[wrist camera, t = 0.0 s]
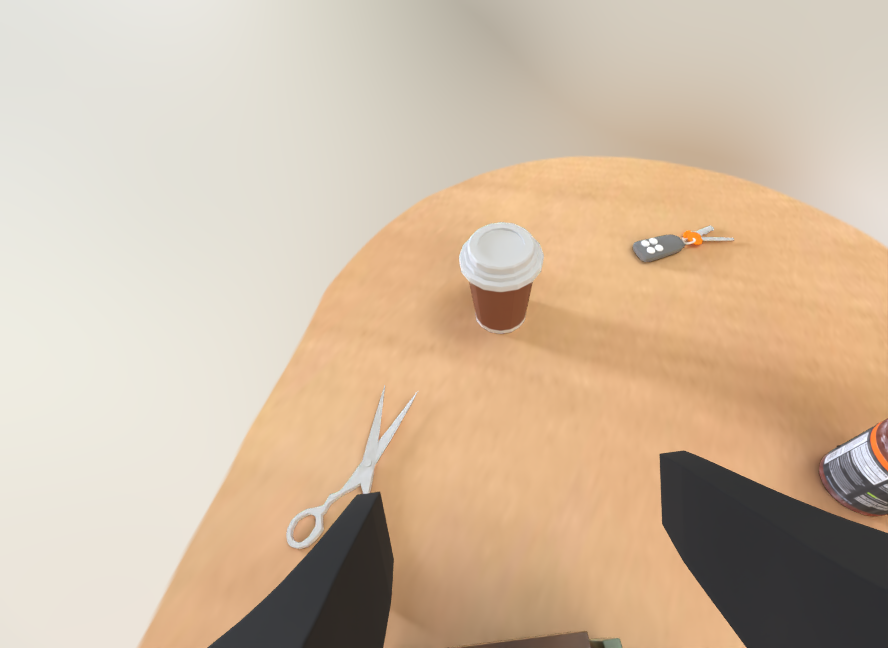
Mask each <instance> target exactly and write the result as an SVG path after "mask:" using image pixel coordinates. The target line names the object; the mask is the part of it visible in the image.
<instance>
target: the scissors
mask: <svg viewBox="0 0 888 648" xmlns="http://www.w3.org/2000/svg"><path fill="white" fill-rule="evenodd" d="M384 389H385V386H384ZM384 389H383V392H382V395H381V399H380V402H379V405H378V408H377V412H376V415H375V418H374V421H373V425H372V428H371V431H370V435H369V439H368V442H367V446H366V449H365V453H364V457H363V461H362V462H361V463H360V464H359V466H358V467H357V469H356V470H355V472H354V473H353V475H352V476H351V478H350V479H349V480H348V481H347V483H346V484H345V485H344V487H343V488H342V489H341V490H339V491H338V492H336V493H333V494H330V495H329V497H328V499H327V500H326V502H325V503H324V505H322V506H319V507H315V508H309V509H306V510H304V511H302V512H301V513H299V514H297V515H296V516H295V517H294V518H293V519H292V521H291V523H290V525H289V526H288V529H287V533H286V534H287V541H288V544H289V545H290V546H291V547H294V548H297V549H302V548H306V547H309V546H310V545H311V544H312V543H313V542H314V541H316V540H317V539H318V537H319V536H320V535H321V533H322V532H323V531H324V527H323V515H324V514H325V513H326V512H327V510H328V509H329V507H330V505H331V504H332V503H333V502H335V501H336V500H337V499H339V498H340V497H342V496H343V495H345V494H346V493H348V492H351V491H353V490H355V489H356V488H358V487H359V486H361V488H362V491H363V494H367V493H370V491H371V486H372V481H373V475H374V468H375V465H376V463H377V461H378V460H379V458H380V457H381V455H382V453H383V452H384V450H385V449H386V447H387V446H388V444H389V442H390V441H391V439H392V437H393V436H394V434H395V432H396V430H397V429H398V427H399V425H400V423H401V421H402V420H403V418H404V416H405V414H406V413H407V411H408V409H409V408H410V406H411V404H412V402H413V400H414V398H415V396H416V394H417V393H416V394H415V395H414V396H413V398H412V399H411V400H410V402H409V403H408V404H407V405H406V407H405V408H404V409H403V410H402V412H401V413H400V414H399V415H398V417H397V418H396V420H395V421H394V422H393V424H392V425H391V426H390V427H389V429H388V430H387V431H386V432H385V434H384V435H383V436H382V437H381V438H380V440H379V442H378V439H379V431H380V424H381V416H382V407H383V398H384ZM417 392H418V391H417ZM308 515H313V516H315V518H316V526H315V528H314V529H313V531H312V532H311V534H310V536H309V537H308V538H306V539H305V540H304V541H303V542H300V543H299V542H296V541H295V540H294V538H293V531H294V528H295V526H296V525H297V523H298V521H299V520H301V519H302V518H304V517H306V516H308Z"/></svg>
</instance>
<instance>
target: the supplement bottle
mask: <svg viewBox="0 0 888 648" xmlns="http://www.w3.org/2000/svg"><path fill="white" fill-rule="evenodd" d="M819 474H820V477H821V480H822V482H823V484H824V486H825V488H826V489H827V491H828V492H829V493H830V494H831V495H832V496H833V497H834V498H835V499H836V500H837V501H838V502H840V503H841V504H842V505H844V506H845V507H847V508H849V509H851V510H853V511H855V512H858V513H860V514H864V515H869V516H882V515H887V514H888V419H886V420H884V421H883V422H881V423H878V424H877V425H875V426H874V427H872V428H870V429H868V430H866V431H865V432H863V433H861V434H860V435H858V436H856V437H854V438H853V439H851V440H849V441H847V442H846V443H844V444H842V445H839V447H838V446H837V448H835V449H833V450H832V451H830V452H829V453H828V454H826V455H825V456H824V457H823V458H822V460H821V462H820V466H819Z"/></svg>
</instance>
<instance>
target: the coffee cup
mask: <svg viewBox="0 0 888 648" xmlns="http://www.w3.org/2000/svg"><path fill="white" fill-rule="evenodd" d="M543 259H544V255H543V252H542V249H541V246H540V244H539V243H538V242H537V241H536V240H535V239H534V238H533V237H532V235H531V234H530V233H529V232H528V231H527V230H526V229H525V228H523V227H520V226H518V225H515V224H513V223H504V222H499V223H493V224H488V225H486V226H484V227H482V228H480V229H478V230H477V231H476V232H475V233H474V234H473V235H472V236H471V237H470V239H469V240H468V241H467V242H466V243H465V244H464V245H463V247H462V250H461V253H460V255H459V261H460V266H461V272H462V273H463V275H464V276H465V277H466V278H467V280H468V281H469V283H470V288H471V293H472V298H473V302H474V307H475V314H476V319H477V322H478V323H479V324H480V325H481V327H482V328H484V329H486V330H488V331H489V332H493V333H499V334H502V333H509V332H512V331H514V330H516V329H517V328H519V327H520V326H521V325H522V323H523V322H524V321H525V317H526V310H527V306H528V301H529V296H530V292H531V287H532V283H533V280H534V279H535V278H536V277H537V276H538V274H539V273H540V272H541V269H542V264H543Z"/></svg>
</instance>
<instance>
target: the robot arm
mask: <svg viewBox="0 0 888 648" xmlns="http://www.w3.org/2000/svg"><path fill="white" fill-rule="evenodd" d="M660 477H661V503H662V524H663V526H664V528H665V530H666V531H667V533H668V535H669V537H670V539H671V541H672V542H673V544H674V546H675V548H676V549H677V551H678V553H679V555H680V556H681V558H682V560H683V561H684V563H685V564H686V566H687V567H688V569H689V570H690V571H691V573H692V574H693V576H694V577H695V578H696V580H697V581H698V582H699V584H700V585H701V586H702V588H703V589H704V591H705V592H706V593H707V595H708V596H709V597H710V599H711V600H712V601H713V603H714V604H715V606H716V607H717V608H718V610H719V611H720V612H721V614H722V615H723V616H724V618H725V619H726V620H727V622H728V623H729V624H730V626H731V627H732V628H733V630H734V631H735V633H736V634H737V635H738V637H739V638H740V639H741V641H742V642H743V643H744V645H745V646H746V647H747V648H888V533H885V532H882V531H880V530H877V529H874V528H871V527H868V526H865V525H862V524H859V523H856V522H853V521H850V520H847V519H845V518H842V517H839V516H837V515H834V514H831V513H829V512H826V511H824V510H821V509H819V508H816V507H814V506H811V505H809V504H806V503H804V502H801V501H799V500H796V499H794V498H791V497H789V496H787V495H784V494H782V493H780V492H777V491H775V490H773V489H770V488H768V487H766V486H764V485H761V484H759V483H757V482H755V481H752V480H750V479H748V478H746V477H743V476H741V475H739V474H737V473H735V472H732V471H730V470H728V469H726V468H724V467H722V466H719V465H717V464H715V463H713V462H710V461H708V460H706V459H704V458H701V457H699V456H697V455H694V454H692V453H689V452H686V451H677V452H670V453H662V454H660ZM393 563H394V558H393V553H392V548H391V543H390V538H389V533H388V528H387V523H386V518H385V514H384V509H383V504H382V499H381V494H380V492H375V493H367V494H360V495H356V497H355V498H354V499H353V500H352V501H351V503H350V504H349V505H348V506H347V508H346V509H345V510H344V511H343V512H342V514H341V515H340V516H339V517H338V519H337V520H336V521H335V522H334V524H333V525H332V526H331V527H330V528H329V530H328V531H327V532H326V533H325V535H324V536H323V537H322V538H321V539H320V540H319V542H318V543H317V544H316V545H315V546H314V548H313V549H312V550H311V551H310V552H309V553H308V554H307V555H306V556H305V557H304V559H303V560H302V561H301V562H300V563H299V564H298V565H297V566H296V567H295V568H294V569H293V570H292V572H291V573H290V574H289V575H288V576H287V577H286V578H285V579H284V580H283V581H282V582H281V583H280V584H279V585H278V586H277V587H276V588H275V589H274V590H273V591H272V592H271V593H270V594H269V595H268V596H267V597H266V598H265V599H264V600H263V601H262V602H261V603H259V604H258V605H257V606H256V607H255V608H254V609H253V610H252V611H251V612H250V613H249V614H247V615H246V616H245V617H244V618H243V619H242V620H241V621H240V622H238V623H237V624H236V625H235V626H234V627H232V628H231V629H230V630H229V631H227V632H226V633H225V634H224V635H222V636H221V637H220V638H219V639H218V640H216V641H215V642H214V643H213V644H211V645H210V646H209V647H208V648H383V645H384V640H385V634H386V628H387V622H388V616H389V611H390V605H391V596H392V582H393Z"/></svg>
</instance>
